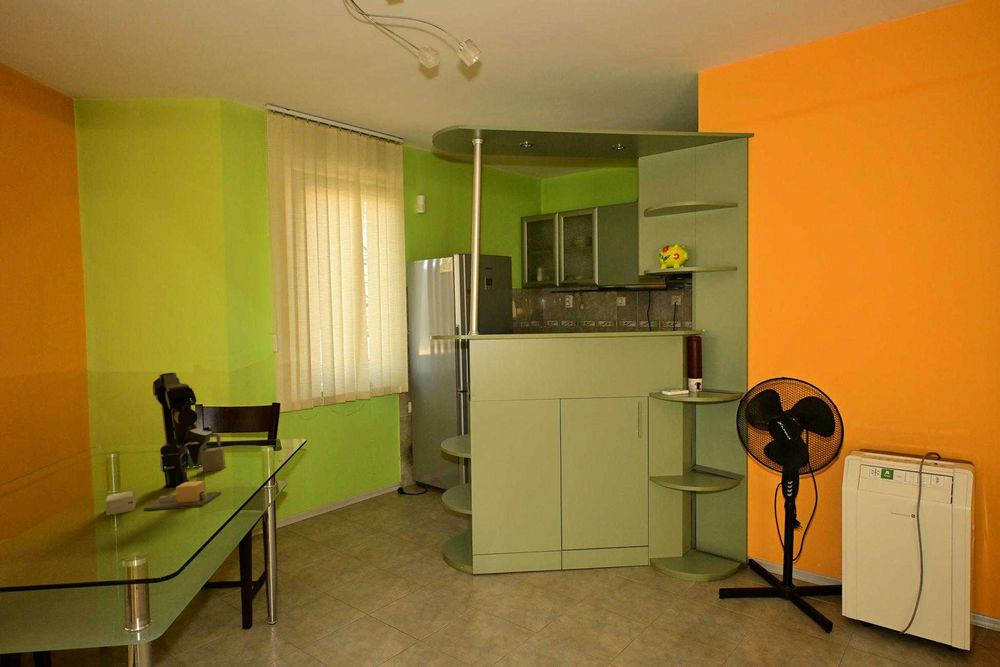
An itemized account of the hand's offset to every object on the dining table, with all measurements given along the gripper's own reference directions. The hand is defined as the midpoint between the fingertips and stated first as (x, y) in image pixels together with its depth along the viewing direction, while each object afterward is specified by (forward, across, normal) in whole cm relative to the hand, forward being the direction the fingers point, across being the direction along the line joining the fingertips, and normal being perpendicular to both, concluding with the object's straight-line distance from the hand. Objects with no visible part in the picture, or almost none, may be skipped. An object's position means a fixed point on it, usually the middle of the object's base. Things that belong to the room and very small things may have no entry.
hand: (188, 468), depth 194 cm
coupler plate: (+11, 0, +3) cm, 12 cm away
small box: (+12, -3, +22) cm, 26 cm away
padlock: (+12, +40, +14) cm, 44 cm away
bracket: (+12, +50, +27) cm, 58 cm away
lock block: (+11, 0, 0) cm, 11 cm away
